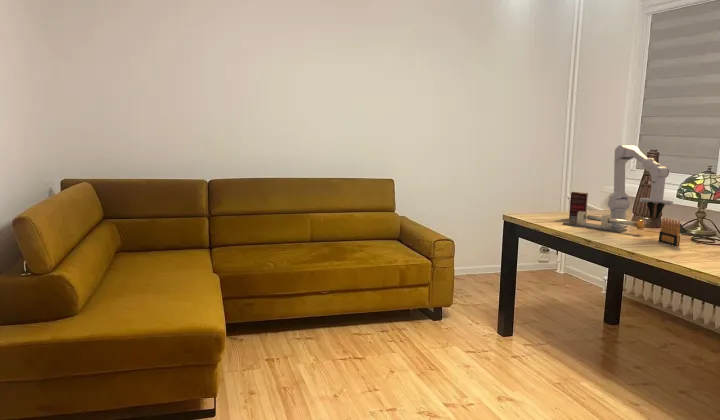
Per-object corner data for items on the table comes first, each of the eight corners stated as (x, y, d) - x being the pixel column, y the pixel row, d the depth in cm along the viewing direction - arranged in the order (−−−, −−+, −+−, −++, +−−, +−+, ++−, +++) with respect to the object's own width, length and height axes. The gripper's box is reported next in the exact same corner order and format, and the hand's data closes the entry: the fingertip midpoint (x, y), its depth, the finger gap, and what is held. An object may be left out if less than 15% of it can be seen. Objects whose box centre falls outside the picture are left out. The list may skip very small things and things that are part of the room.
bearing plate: (570, 222, 309) (571, 209, 308) (626, 230, 289) (628, 216, 288) (562, 224, 302) (564, 210, 301) (619, 233, 282) (621, 218, 280)
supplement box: (585, 220, 318) (588, 192, 315) (584, 221, 314) (586, 193, 311) (570, 218, 322) (572, 191, 320) (568, 219, 318) (570, 192, 316)
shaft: (588, 221, 300) (589, 212, 299) (643, 229, 280) (644, 219, 280) (585, 222, 296) (585, 213, 295) (640, 230, 277) (641, 220, 276)
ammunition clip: (679, 246, 254) (682, 221, 252) (676, 246, 254) (679, 221, 252) (661, 241, 264) (664, 216, 262) (658, 241, 264) (661, 217, 262)
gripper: (639, 189, 274) (636, 216, 276) (671, 193, 264) (667, 220, 266) (643, 188, 279) (640, 215, 281) (675, 191, 269) (672, 219, 271)
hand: (654, 217), depth 274 cm, fingers closed
